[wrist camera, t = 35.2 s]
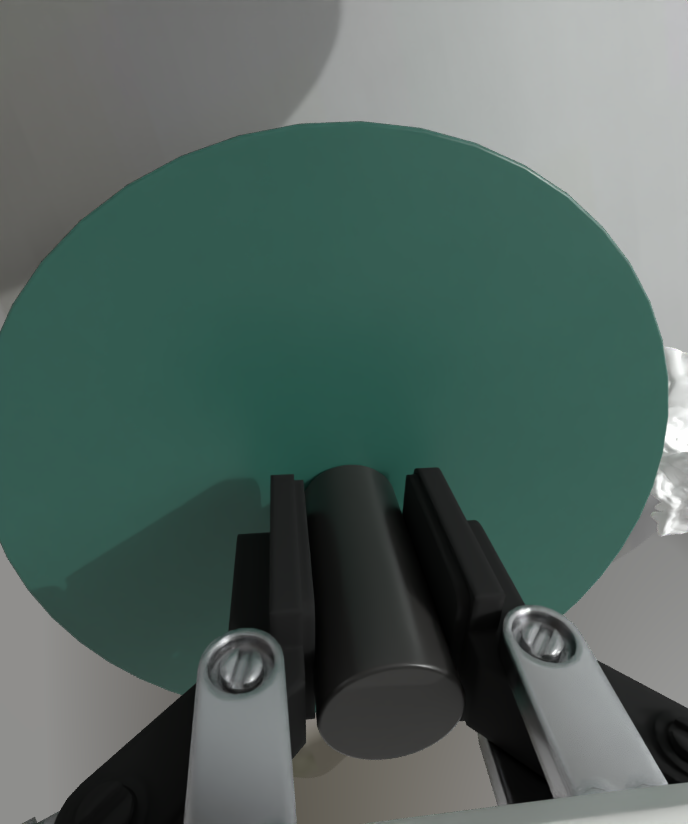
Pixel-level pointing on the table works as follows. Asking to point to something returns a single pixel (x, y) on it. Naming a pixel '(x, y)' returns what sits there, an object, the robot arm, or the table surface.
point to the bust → (674, 451)
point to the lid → (324, 403)
